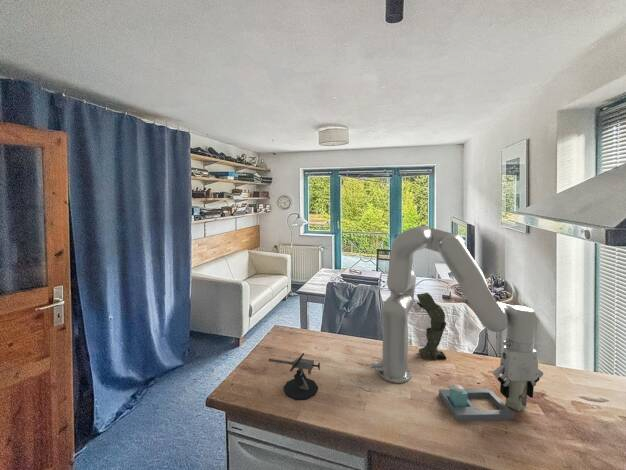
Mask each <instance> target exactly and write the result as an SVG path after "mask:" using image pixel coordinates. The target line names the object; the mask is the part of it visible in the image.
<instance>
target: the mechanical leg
mask: <svg viewBox="0 0 626 470" xmlns="http://www.w3.org/2000/svg"><path fill="white" fill-rule="evenodd" d="M416 297H417V299H418V301H417V302H416V305H418V307H419V308H421V309H423V310H424V311H426V314H427V315H428V316H429V318H430V319H431V320H430V327H427V328H426V329H425V330H426V331H425V332H426V333H425V334H426V335H425V336H426V337H425V338H426V339H427V340H426V341H427V342H426V344H425V345H424V346H423V347H421V348H418V353H419V355H420V358H421V359H424V360H425V359H426V360H436V361H437V360H438V361H439V360H447V355H445V353H444V352H443V351H441V350H439V349H438V347H439V345H440V343H441V340H442V337H443V334H444V331H445V329H446V327H447V322H446V321H445V320H446V313H445V311H444V309H443V308H442V306H440V304H437V303H436V302H435V300H434V299H433V297H432V295H431V293H428V292H424V293H418V294H417V295H416Z"/></svg>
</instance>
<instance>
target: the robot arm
mask: <svg viewBox="0 0 626 470" xmlns="http://www.w3.org/2000/svg"><path fill="white" fill-rule="evenodd" d="M423 249H426V250H430V251H433V252H435V253H436V252H437V253H439V255H440V257H441V258H442V260H443V261H444V263H445V265H446V266H447V267H448V270H449V271H450V272H451V274H452V275H453V277H454V279H455V280H456V282H457V283H458V285H459V288H460V289H461V292H462V293H463V295H464V297H465V298H466V301H467V302H468V304H469V306H470V307H471V309H472V311H473V312H474V314H475V316H476V317H477V318H478V321H479V322H480V324H482V326H483V327H484V328H485V329H487V330H488V331H490V332H493V333H501V332H503V331H504V330H506V335H505V340H502V345H503V349H502V351H501V357H500V363H499V366H498V367H497V368H496V369H494V370H493V371H492V374H493V376H494V377H495V378H496V380H497V381H498V382H500V389H499V391H500V394H501V395H503V397H504V398H505V399H506V398H509V387H508V384H509V382H510V381H520V380H521V375H522V381H528V385H527V397H529V398H532V399H533V398H534V387H535V386H536V385H537V383H538V382H539V381H540V380H541V378H542V377H543V376H544V372H543V371H542V370H541V369H540V368H539V361H538V360H539V359H538V354H537V350H536V349H535V348H534V347H535V333H536V318H537V316H536V314H537V313H536V311H535V310H534V309H533V308H531V307H527V306H525V305H513V304H507V303H503V302H501V301H497V300H496V298H495V297H494V296H493V293H492V291H491V290H490V288H489V286H488V283H487V280H486V276H485V275H484V273H483V271H482V269H481V268H480V267H479V265H478V263H477V262H476V260H475V259H474V258H473V256H472V255H471V253H470V251H469V250H468V249H467V247H466V244H465V240H464V239H463V238H462V237H461V236H460V235H459V234H456V233H452V232H448V231H444V230H441V229H437V228H434V227H431V226H427V225H418V226H414V227H411V228H409V229H406V230H404V231H402V232H401V233H399V234H398V235H397V236H396V237H395V238H394V240H393V242H392V244H391V247H390V254H389V262H388V271H387V278H386V285H387V288H388V290H389V292H390V295H389V296H388V297H387V298H386V300H385V301H384V303H383V305H382V306H381V320H382V359H380V360H379V361H380V362H378V363H375V362H373V363H372V362H370V364H369V365H370V366H369V367H370V369H371V370H373V369H374V370H375V372H378V375H379V377H380V378H382V379H383V380H385V381H387V382H390V383H394V384H401V383H403V384H404V383H406V382H408V381H410V380H411V378H412V372H411V370H410V369H409V368H408V346H409V340H408V339H409V325H408V324H409V323H408V317H409V314H410V312H411V311H412V308H413V306H414V299H415V291H416V281H417V280H416V276H417V275H416V273H415V272H414V269H413V263H414V254H415V252H417V251H420V250H423ZM500 375H501V376H500Z"/></svg>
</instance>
